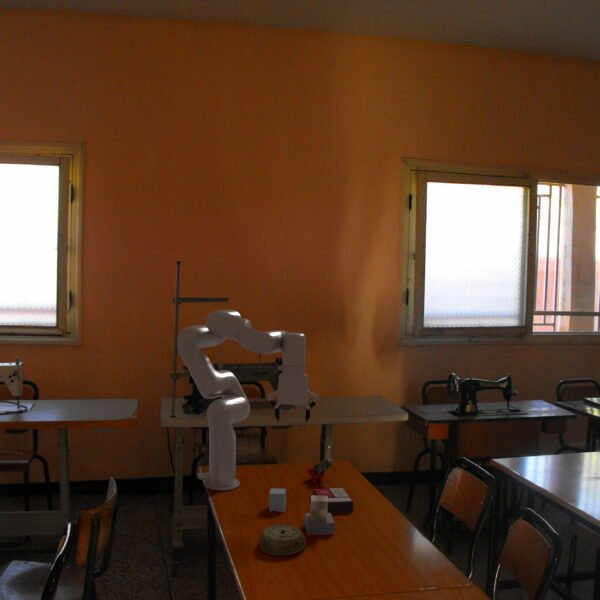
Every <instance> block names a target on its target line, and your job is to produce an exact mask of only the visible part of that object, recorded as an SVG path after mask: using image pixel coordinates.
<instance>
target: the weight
mask: <svg viewBox="0 0 600 600" xmlns="http://www.w3.org/2000/svg"><path fill="white" fill-rule="evenodd" d="M306 544H307V543H306V537H305V535H304V534H303V532H302V530H300V529H299V528H298V527H295V526H291V525H287V524H275V525H270V526H267V527H265V528H264V529H263V530H262V531H261V532H260V535H259V539H258V545H259V549H260V551H261V552H263V553H265V554H268V555H269V556H274V557H279V556H284V557H285V556H286V557H287V556H291V555H294V554H295V555H296V554H297V553H299V552H302V551H303V550H304V549H305V547H306Z"/></svg>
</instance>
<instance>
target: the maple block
mask: <svg viewBox="0 0 600 600" xmlns="http://www.w3.org/2000/svg"><path fill="white" fill-rule="evenodd" d="M310 497H311V498H310V513H311V518H310V520H312V521H327V508H328V496H316V495H313V494H312V495H311V496H310Z"/></svg>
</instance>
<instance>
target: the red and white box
mask: <svg viewBox="0 0 600 600" xmlns="http://www.w3.org/2000/svg"><path fill="white" fill-rule="evenodd" d="M312 495H316V496H328V508H327V513H331V514H339V513H338V512H341V514H342V512H345V513H354V501H353V500H352V498H351V497H350V496H349V495H348V493H347V492H346V490H345V489H344V488H343V487H338V488H337V487H336V488H332V487H331V488H329V489H328V488H315V489H314V490H312Z"/></svg>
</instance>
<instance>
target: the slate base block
mask: <svg viewBox="0 0 600 600" xmlns="http://www.w3.org/2000/svg"><path fill="white" fill-rule="evenodd" d="M310 518H311V512H308V513H307V512H305V513H304V526H305V531H306V535H307V536H323V535H324V536H328V535H329V536H331V535H332V536H333V535H335V521H334V519H333V514H332V513H327V521H312V520H310Z"/></svg>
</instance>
